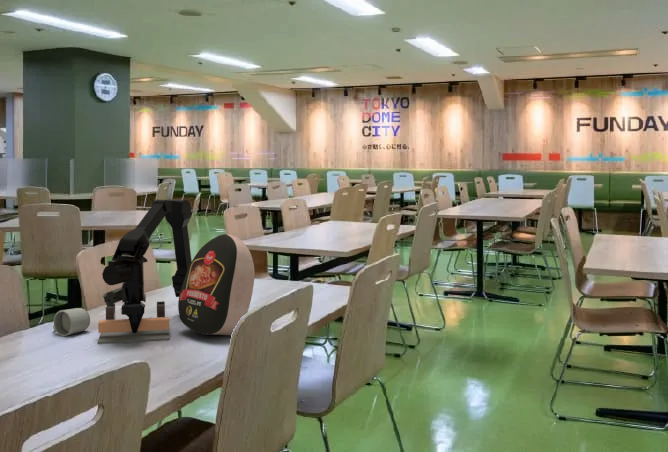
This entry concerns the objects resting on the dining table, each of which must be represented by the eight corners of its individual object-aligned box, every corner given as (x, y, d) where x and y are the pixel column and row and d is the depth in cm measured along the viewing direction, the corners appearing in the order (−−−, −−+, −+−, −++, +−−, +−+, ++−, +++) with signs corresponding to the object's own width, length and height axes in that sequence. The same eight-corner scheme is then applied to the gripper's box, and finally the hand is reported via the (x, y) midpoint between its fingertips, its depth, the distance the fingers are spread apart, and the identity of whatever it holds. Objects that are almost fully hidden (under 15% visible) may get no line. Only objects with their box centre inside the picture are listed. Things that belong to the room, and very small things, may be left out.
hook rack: (167, 323, 219) (167, 300, 219) (167, 329, 213) (167, 305, 212) (105, 326, 215) (104, 303, 214) (103, 332, 208) (102, 308, 207)
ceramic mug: (92, 331, 209) (91, 306, 209) (71, 337, 202) (70, 312, 201) (67, 327, 214) (66, 303, 213) (45, 334, 207) (44, 308, 206)
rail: (169, 326, 207) (169, 316, 206) (169, 329, 204) (169, 319, 203) (99, 330, 202) (99, 320, 202) (98, 332, 199) (98, 322, 199)
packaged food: (168, 332, 209) (166, 234, 205) (219, 321, 223) (218, 229, 220) (214, 346, 194) (213, 241, 191) (265, 333, 209) (265, 235, 206)
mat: (169, 331, 210) (169, 329, 210) (169, 339, 201) (169, 337, 201) (100, 334, 206) (100, 332, 205) (97, 343, 196) (97, 341, 196)
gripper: (107, 274, 208) (108, 325, 210) (101, 286, 190) (103, 341, 192) (145, 273, 211) (146, 323, 213) (143, 285, 193) (144, 339, 195)
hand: (134, 331), depth 203 cm, fingers closed on rail, 3 cm apart
